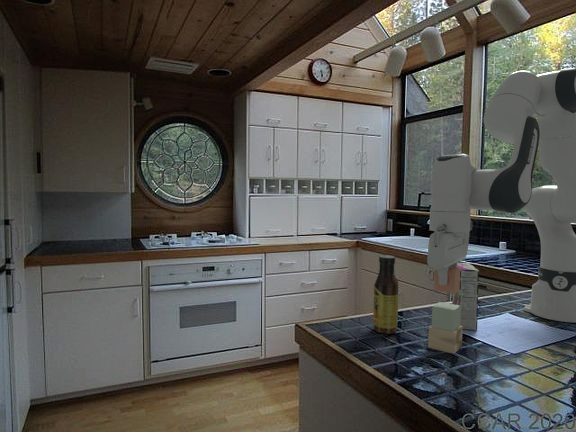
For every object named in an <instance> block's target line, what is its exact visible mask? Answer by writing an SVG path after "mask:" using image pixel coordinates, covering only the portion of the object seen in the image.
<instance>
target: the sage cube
mask: <svg viewBox="0 0 576 432" xmlns="http://www.w3.org/2000/svg"><path fill="white" fill-rule="evenodd" d="M460 309H461V306H460V305H454V304H452V303H447V302H442V301H438V302H437V303H435V304H433V305H432V306H431V325H432V327H433V328H438V329H442V330H447V331H452V332H454V331H455V330H456V329H457V328H458V327H460Z"/></svg>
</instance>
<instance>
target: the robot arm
mask: <svg viewBox="0 0 576 432" xmlns="http://www.w3.org/2000/svg"><path fill="white" fill-rule="evenodd" d="M495 90H496V91H495V92H494V93H493V95H492V97H491V99H490V101H489V103H488V105H487V107H486V108H485V112H484V114H483V125H484V128H485V130H486V131H487V132H488V134H489V135H490V136H491V137H493V138H494V139H496V140H498V141H500V142H502V143H507V144H512V145H513V147H512V151H511V152H512V153H511V157H510V159H509V160H510V161H509V163H508V164H507V165H506V166H503V167H500V168H491V169H490V168H489V169H478V168H477V167H475V166H474V165H472V163H471V157H470V155H469V154H466V153H452V154H444V155H441V156H438V157H436V159H435V161H434V163H433V165H432V166H433V167H432V171H431V180H430V194H431V205H430V209H429V227H428V228H429V231H431V232H433V233H431V234H430V236H429V240H428V247H427V258H426V262H427V266H428V268H431V269H436V268H437V272H438V276H439V284H440V285H447V284H448V280H449V277H448V267H449V268H457V267H458V263H460V262H461V261H462V260H463V261H464V260H465V259H466V257H467V255H468V249H469V243H470V242H469V241H470V231H472V229H473V221H472V220H471V210H478V211H479V210H482V211H496V212H502V213H508V214H514V213H515V214H516V213H517V212H519V211H520V210H521V209H523V210H524V212H525V213H526V214H527V215H528V217H530V219H531V220H532V221H533V223H534V224H535V227H536V229H537V232H538V236H539V240H540V266H539V267H538V271H537V275H538V276H537V278H538V280H537V281H536V282H534V283H533V284H532V286H531V295H530V303H529V304H527V305H525V306H524V307H523V311H524V312H527V313H531V314H533V315H535V316H537V317H540V318H543V319H547V320H552V321H557V322H565V323H576V233H575V231H574V229H573V226H572V224H576V67H570V68H568V67H567V68H562V69H560V70H557V71H550V72H544V73H541V74H537V75H536V74H535V73H533V72H531V71H529V70H518V71H515V72H512V73H510V74H508V76H507V77H505V78H504V80H503V81H502V82H501V83H500V84H499V86H497V89H495ZM537 117H538V119H537ZM538 152H539V164H540V167H541V168H542V170H544V171H545V172H547V173H548V174H550V176H551V177H552V179H554V182H555V184H552V185H551V184H548V185H547V184H546V185H545V184H544V185H542V186H537V187H534V188H533V175H534V174H533V173H534V169H535V166H536V165H535V164H536V159H537V154H538Z"/></svg>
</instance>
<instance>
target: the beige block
mask: <svg viewBox="0 0 576 432" xmlns="http://www.w3.org/2000/svg"><path fill="white" fill-rule="evenodd" d="M462 329H463V326H460V327H458V328H457V329H456V330H455V331H454V332H452V331H447V330H442V329H438V328H433V327H432V324H431V325H430V326H428V339H427V340H428V341H427V342H428V343H427V346H428V347H427V348H428V349H432V350H437V351H440V352H445V353H449V354H454V355H455V354H456V353H457V352H458V351H459V350H460V349H461V348H462V346H463V330H462Z"/></svg>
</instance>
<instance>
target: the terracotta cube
mask: <svg viewBox="0 0 576 432" xmlns="http://www.w3.org/2000/svg"><path fill="white" fill-rule="evenodd" d="M448 277H449V280H448V284H447V285H440V284H439V276H438V272H437V268H434V286H433V287H434V289H433V290H434V291H435V292H436V291H437V292H445V293H450V294H453V293H455V292H457V291H458V290H459V289H460V269H458V268H449V267H448Z"/></svg>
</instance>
